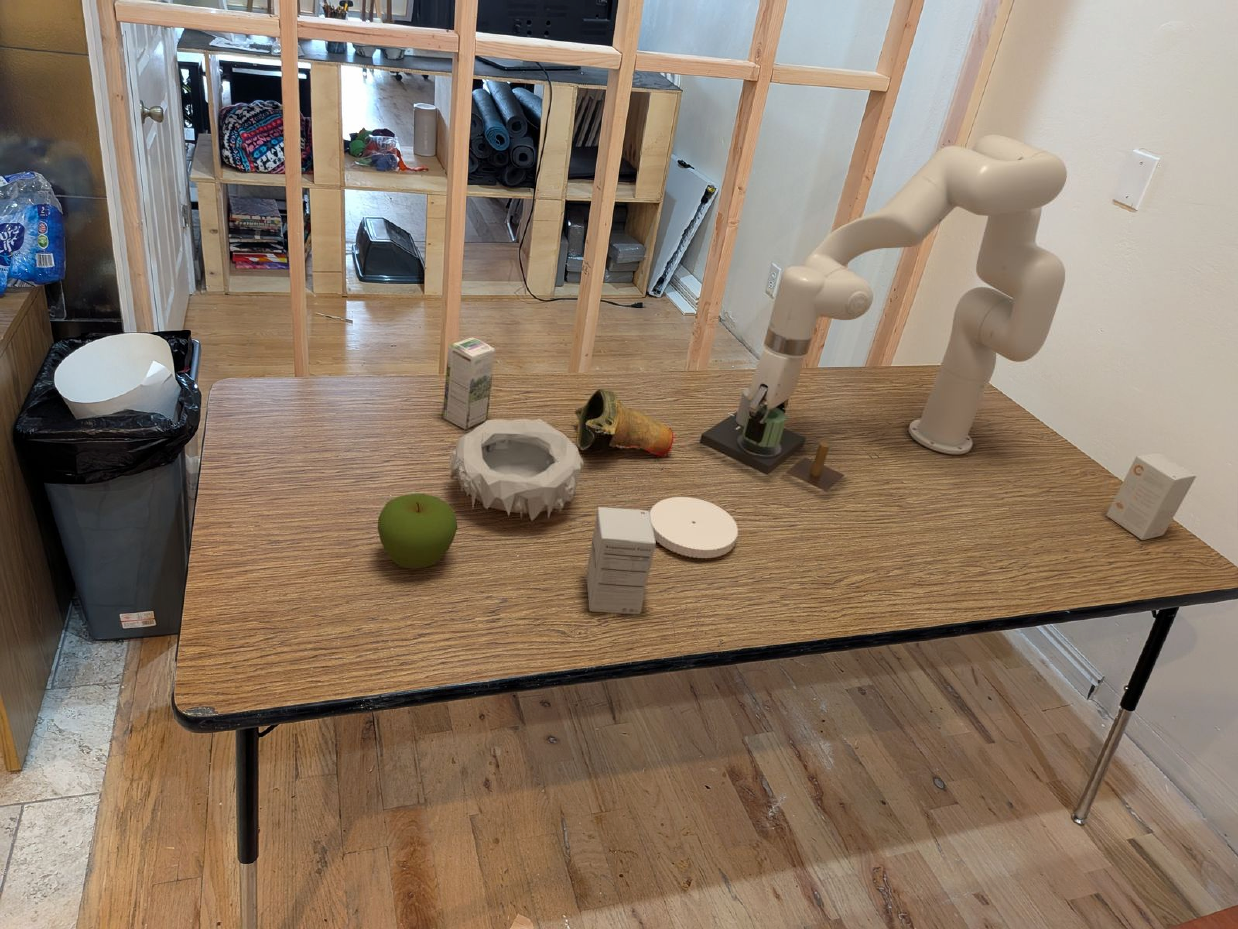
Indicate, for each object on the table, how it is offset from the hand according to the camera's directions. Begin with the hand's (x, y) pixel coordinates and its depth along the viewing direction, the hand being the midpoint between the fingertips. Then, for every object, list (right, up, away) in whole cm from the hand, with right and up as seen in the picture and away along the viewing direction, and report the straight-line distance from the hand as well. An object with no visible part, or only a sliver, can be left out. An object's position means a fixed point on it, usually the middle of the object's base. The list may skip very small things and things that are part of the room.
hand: (762, 432), depth 164 cm
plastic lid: (-14, -17, -20) cm, 30 cm away
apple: (-54, -19, -35) cm, 67 cm away
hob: (-1, -3, +6) cm, 7 cm away
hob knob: (-1, +2, +9) cm, 9 cm away
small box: (+69, -17, +5) cm, 71 cm away
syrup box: (-53, +2, 0) cm, 53 cm away
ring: (0, -1, +1) cm, 1 cm away
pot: (-27, -3, -1) cm, 28 cm away
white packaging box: (-27, -24, -35) cm, 50 cm away
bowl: (-42, -11, -19) cm, 47 cm away
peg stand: (+9, -8, +1) cm, 13 cm away
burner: (0, -3, +2) cm, 3 cm away
